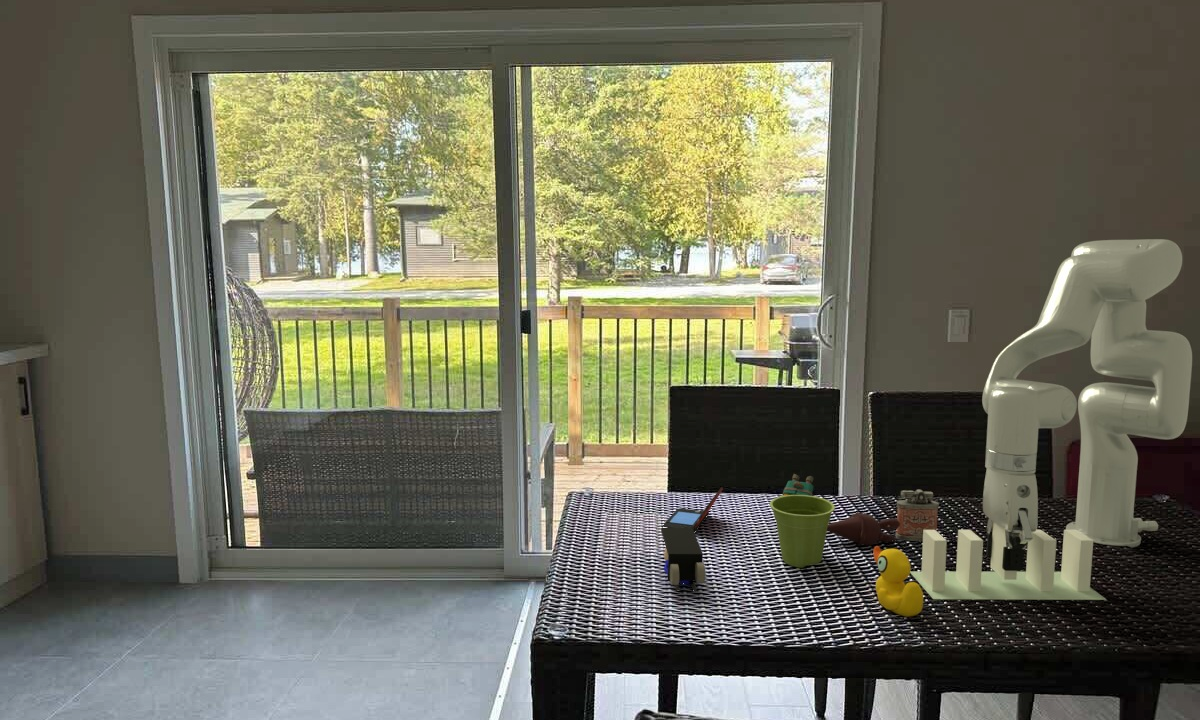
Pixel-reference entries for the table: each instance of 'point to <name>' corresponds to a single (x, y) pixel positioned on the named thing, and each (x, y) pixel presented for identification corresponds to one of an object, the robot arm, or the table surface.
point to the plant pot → (801, 527)
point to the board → (1006, 589)
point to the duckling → (896, 583)
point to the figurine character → (683, 557)
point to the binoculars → (799, 486)
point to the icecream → (864, 529)
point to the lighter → (916, 515)
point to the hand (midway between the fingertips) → (1004, 562)
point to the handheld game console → (689, 516)
